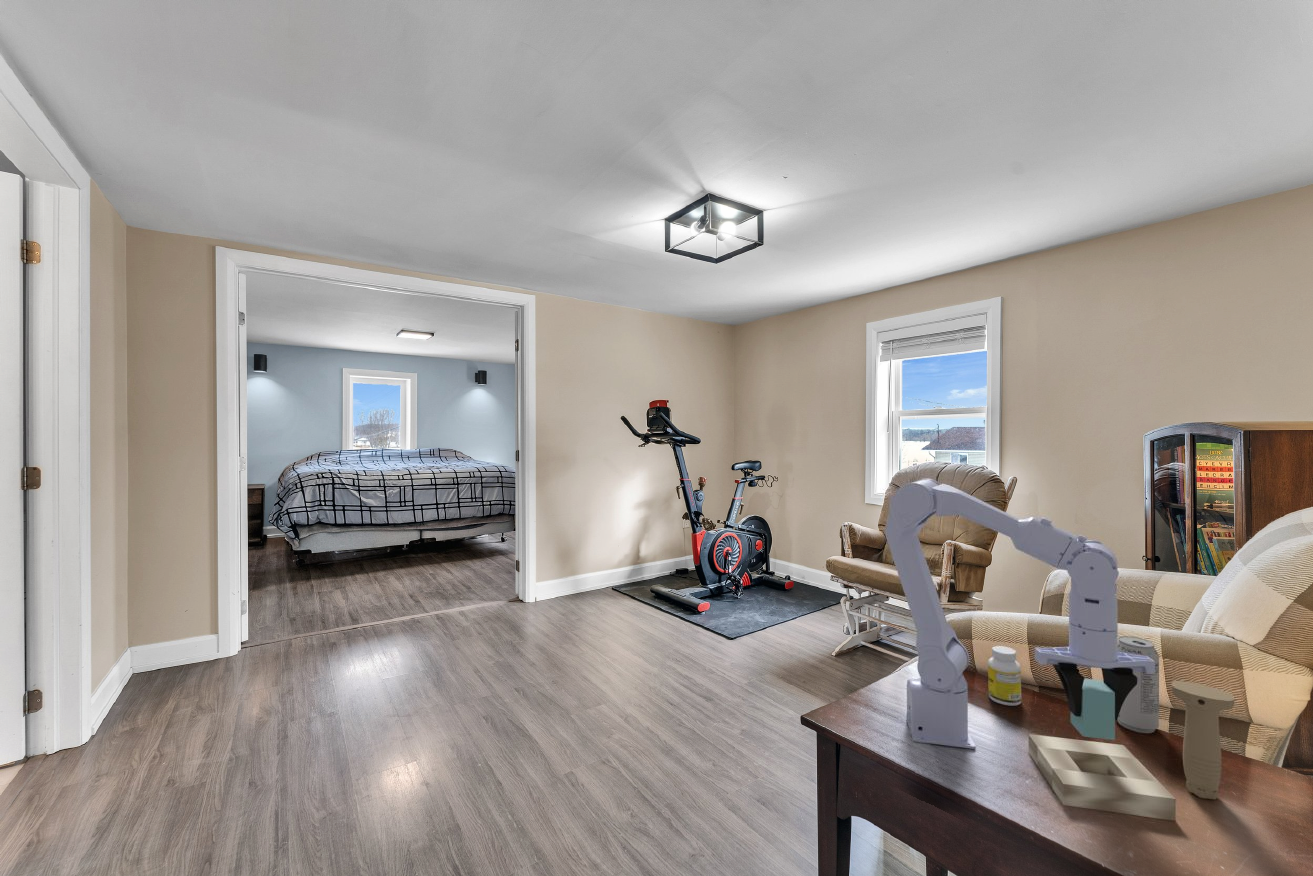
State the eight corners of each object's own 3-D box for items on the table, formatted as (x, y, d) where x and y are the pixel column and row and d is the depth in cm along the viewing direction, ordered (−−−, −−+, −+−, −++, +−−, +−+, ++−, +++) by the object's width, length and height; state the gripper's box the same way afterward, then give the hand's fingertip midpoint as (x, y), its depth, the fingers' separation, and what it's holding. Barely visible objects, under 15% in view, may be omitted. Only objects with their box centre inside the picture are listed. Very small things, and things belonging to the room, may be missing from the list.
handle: (1233, 813, 76) (1234, 704, 76) (1170, 791, 81) (1170, 688, 80) (1234, 796, 79) (1234, 692, 79) (1172, 776, 84) (1172, 678, 84)
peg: (1082, 736, 82) (1082, 689, 82) (1070, 722, 86) (1070, 677, 86) (1114, 740, 81) (1114, 692, 81) (1101, 725, 85) (1100, 680, 85)
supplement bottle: (989, 690, 112) (989, 642, 111) (1022, 697, 108) (1021, 648, 108) (987, 701, 107) (986, 651, 107) (1020, 709, 104) (1020, 657, 104)
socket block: (1063, 804, 78) (1063, 783, 78) (1028, 752, 91) (1028, 734, 91) (1175, 821, 75) (1175, 799, 75) (1123, 764, 87) (1123, 745, 87)
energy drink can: (1128, 714, 102) (1128, 633, 101) (1167, 731, 96) (1167, 645, 96) (1105, 720, 100) (1105, 637, 100) (1144, 738, 94) (1144, 650, 94)
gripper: (1135, 619, 85) (1135, 707, 85) (1027, 612, 89) (1027, 697, 89) (1164, 636, 78) (1164, 732, 78) (1045, 628, 82) (1045, 719, 82)
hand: (1093, 715), depth 83 cm, fingers closed on peg, 4 cm apart
